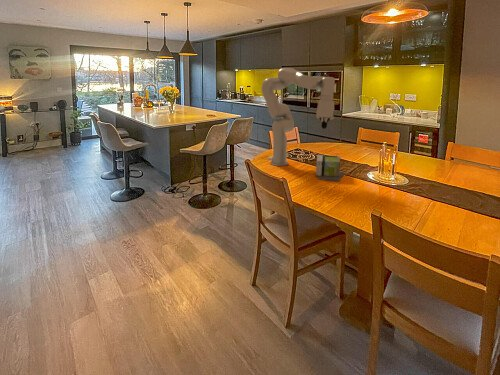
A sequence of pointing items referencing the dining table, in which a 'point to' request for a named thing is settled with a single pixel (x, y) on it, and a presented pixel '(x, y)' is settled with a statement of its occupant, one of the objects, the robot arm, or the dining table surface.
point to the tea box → (328, 165)
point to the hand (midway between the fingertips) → (324, 128)
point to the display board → (332, 177)
